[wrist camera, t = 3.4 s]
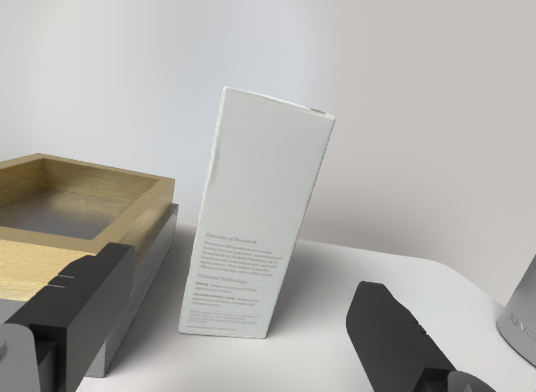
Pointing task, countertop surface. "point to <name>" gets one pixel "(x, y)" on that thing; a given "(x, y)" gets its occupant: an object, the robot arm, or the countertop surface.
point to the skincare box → (251, 211)
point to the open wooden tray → (79, 229)
